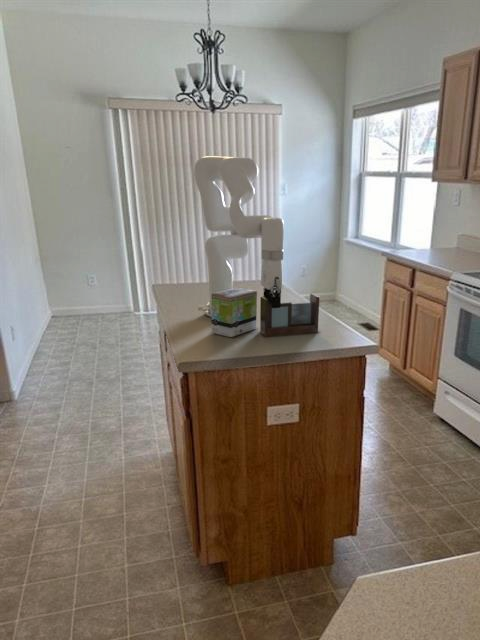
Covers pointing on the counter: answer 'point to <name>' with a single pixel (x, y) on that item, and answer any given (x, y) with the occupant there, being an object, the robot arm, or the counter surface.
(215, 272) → the robot arm
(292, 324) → the window frame
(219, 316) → the tea box
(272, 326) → the sliding pane
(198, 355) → the counter surface
